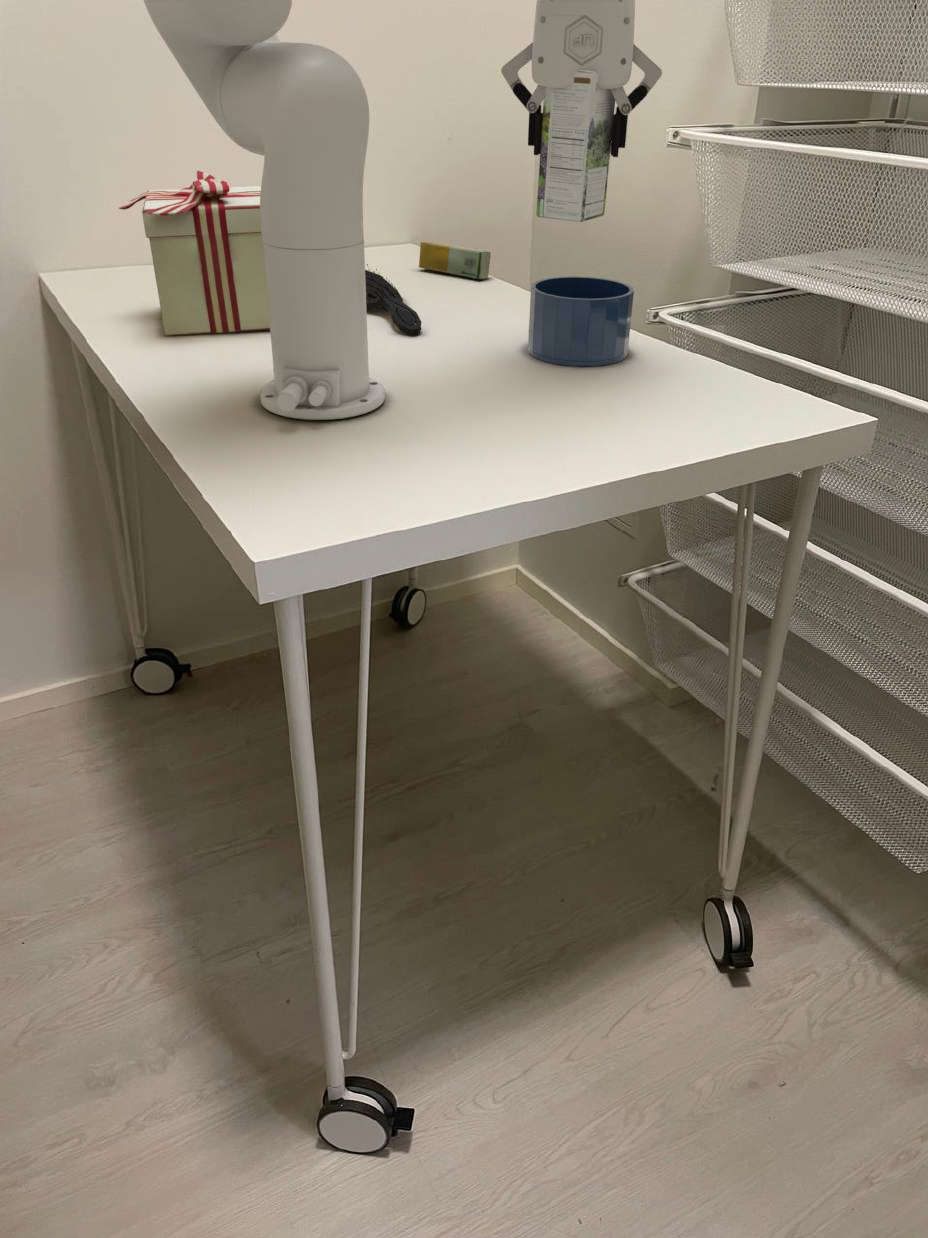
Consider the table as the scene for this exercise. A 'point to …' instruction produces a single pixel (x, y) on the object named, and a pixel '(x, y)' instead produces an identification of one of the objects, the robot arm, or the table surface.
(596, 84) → the syrup box
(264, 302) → the gift box
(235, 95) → the robot arm
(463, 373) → the table surface
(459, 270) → the medication box
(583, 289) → the crock
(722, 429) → the table surface
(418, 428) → the table surface
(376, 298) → the hairbrush
